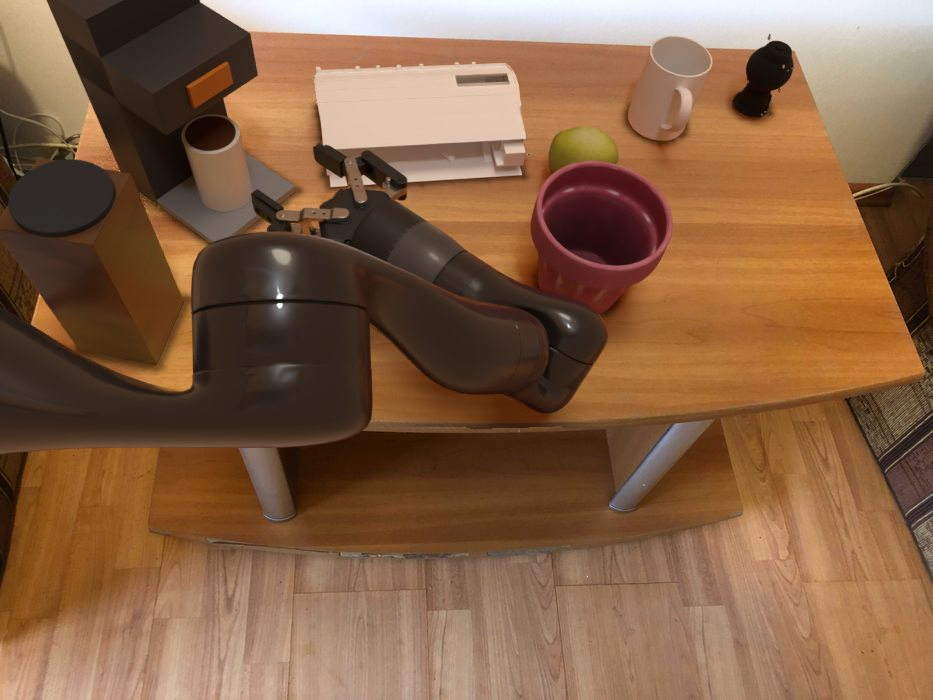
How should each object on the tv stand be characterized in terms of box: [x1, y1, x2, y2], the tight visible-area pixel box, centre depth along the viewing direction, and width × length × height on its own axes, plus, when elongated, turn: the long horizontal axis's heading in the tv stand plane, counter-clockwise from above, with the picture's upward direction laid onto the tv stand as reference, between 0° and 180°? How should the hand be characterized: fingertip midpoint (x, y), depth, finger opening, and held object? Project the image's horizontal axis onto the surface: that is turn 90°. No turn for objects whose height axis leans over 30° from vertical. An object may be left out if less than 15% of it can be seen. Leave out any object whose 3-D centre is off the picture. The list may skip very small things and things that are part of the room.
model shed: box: [312, 61, 527, 188], centre depth 92 cm, size 25×15×7 cm, turn 100°
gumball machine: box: [732, 33, 795, 119], centre depth 99 cm, size 7×6×10 cm
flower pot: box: [530, 161, 674, 315], centre depth 79 cm, size 14×14×13 cm
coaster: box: [8, 158, 116, 237], centre depth 60 cm, size 8×8×1 cm
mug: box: [627, 35, 713, 142], centre depth 95 cm, size 12×8×10 cm, turn 0°
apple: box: [548, 126, 619, 175], centre depth 90 cm, size 8×9×8 cm
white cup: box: [181, 114, 253, 212], centre depth 82 cm, size 6×6×9 cm
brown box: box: [0, 157, 184, 365], centre depth 69 cm, size 8×8×19 cm
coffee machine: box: [45, 0, 296, 244], centre depth 77 cm, size 16×12×24 cm
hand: (285, 173), depth 74 cm, fingers open, 8 cm apart
